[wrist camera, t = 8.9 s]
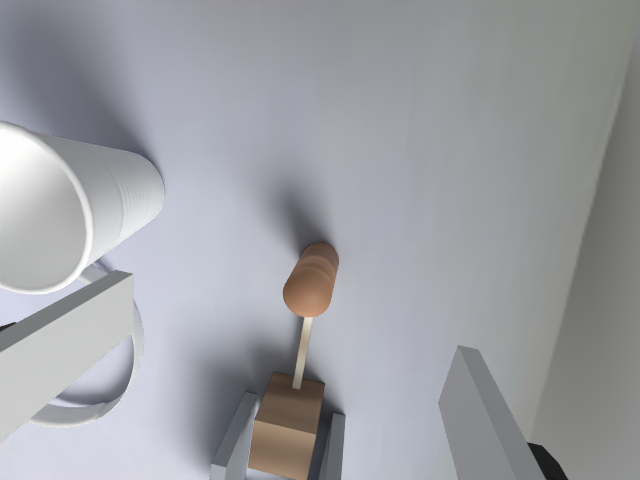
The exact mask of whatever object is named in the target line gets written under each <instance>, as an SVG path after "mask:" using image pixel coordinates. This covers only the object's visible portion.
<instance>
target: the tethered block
mask: <svg viewBox="0 0 640 480" xmlns="http://www.w3.org/2000/svg"><path fill="white" fill-rule="evenodd" d="M338 265H339V257H338V254H337V252H336V251H335V249H334V248H333V247H331V246H330V245H328V244H326V243H322V242H317V243H313V244H311V245H309V246H308V247H306V249H305V250H304V251H303V253H302V255H301V257H300V259H299V260H298V262H297V264H296V266H295V268H294V269H293V271H292V273H291V275H290V277H289V278H288V280H287V282H286V284H285V286H284V289H283V298H284V301H285V304H286V305H287V307H288V308H289V309H290V310H291V311H292V312H293V313H295V314H297V315H299V316H302V317H304V323H303V329H302V334H301V340H300V346H299V352H298V357H297V363H296V369H295V375H294V376H290V375H285V374H281V373H277V372H273V374H272V377H271V379H270V382H269V384H268V387H267V389H266V392H265V394H264V397H263V399H262V402H261V404H260V407H259V409H258V412H257V415H256V417H255V420H254V426H253V433H252V440H251V447H250V455H249V462H248V468H251V469H255V470H259V471H263V472H267V473H271V474H275V475H279V476H283V477H287V478H291V479H295V480H307V477H308V472H309V467H310V463H311V458H312V453H313V448H314V443H315V439H316V434H317V428H318V422H319V416H320V410H321V404H322V398H323V392H324V386H325V383H320V382H316V381H312V380H307V379H303V378H302V377H303V371H304V366H305V360H306V355H307V349H308V344H309V338H310V333H311V327H312V322H313V317H315V316H318V315H320V314H322V313H323V312H324V311H325V310H326V309H327V308H328V306H329V304H330V301H331V297H332V292H333V288H334V283H335V278H336V274H337V269H338Z"/></svg>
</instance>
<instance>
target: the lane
mask: <svg viewBox="0 0 640 480" xmlns="http://www.w3.org/2000/svg"><path fill="white" fill-rule="evenodd" d="M256 399H257V394H253V393H249V392H245V394H244V396H243V398H242V400H241V402H240V404H239V406H238V408H237V410H236V413H235V415H234V417H233V419H232V421H231V423H230V425H229V427H228V429H227V431H226V433H225V436H224V438H223V440H222V442H221V444H220V446H219V448H218V450H217V452H216V454H215V457H214V459H213V461H212V463H211V469H210V479H209V480H245V475H246V468H247V461H248V454H249V448H250V441H251V434H252V427H253V420H254V413H255V406H256ZM344 430H345V415H341V414H337V413H333V416H332V420H331V425H330V429H329V434H328V438H327V442H326V447H325V451H324V456H323V460H322V464H321V469H320V473H319V478H318V480H341V472H342V458H343V444H344Z"/></svg>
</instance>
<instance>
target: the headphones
mask: <svg viewBox="0 0 640 480" xmlns="http://www.w3.org/2000/svg"><path fill="white" fill-rule="evenodd" d="M106 275H108V273H106V272H105V271H103V270H101V269H100V268H98V267H96V266H94V265H92V264H90V265H89V266H87V267H86V268H85V269H83V271H82V272H81V274H80V275H79V276H78V277H77V278H76V279H78V280H79V281H81V282H83V283H85V284H87V285H89V284H91V283H93V282H94V281H96V280H98V279H100V278H102V277H104V276H106ZM131 336H132V340H133V347H134V363H133V369H132V374H131V378H130V381H129V384H128V386H127V388H126V390H125V391H124V392H123V393H122V394H121V395H120V396H119V397H118V398H116V399H115V400H113V401H111V402H109V403H105V402H103V403H99V404H96V405H92V406H87V407H62V406H56V405H51V404H47V405H45V406H44V407H43V408H42V409H41V410H39V411H38V412H37V413H36V414H35V415H33V416H32V417H31V418H30V419H29V420H28V421H26V422H28V423H32V424H36V425H41V426H47V427H58V428H66V427H76V426H81V425H85V424H88V423H91V422H93V421H96V420H98V419H100V418H102V417H103V416H105V415H106V414H108V413H109V412H110V411H111V410H112V409H113V408H115V407H116V406H117V404H118V403H119V402H120V401H121V400H122V398H123V397H124V396H125V394H126V393H127V391H128V390H129V388H130V387H131V385H132V384H133V382H134V380H135V378H136V376H137V373H138V371H139V368H140V364H141V360H142V356H143V350H144V331H143V325H142V321H141V317H140V314H139V311H138V309H137V307H136V305H135V303H134V301H133V333H131Z"/></svg>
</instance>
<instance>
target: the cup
mask: <svg viewBox="0 0 640 480" xmlns="http://www.w3.org/2000/svg"><path fill="white" fill-rule="evenodd" d="M164 198H165V189H164V184H163V181H162V178H161V176H160V174H159V172H158V171H157V169H156V168H155V167H154V166H153V164H152V163H151V162H149V161H148V160H147V159H146V158H144V157H143V156H141V155H139V154H136V153H133V152H129V151H125V150H120V149H114V148H109V147H104V146H99V145H94V144H89V143H85V142H81V141H76V140H71V139H66V138H63V137H58V136H53V135H48V134H43V133H39V132H34V131H29V130H28V129H26V128H24V127H21V126H18V125H15V124H12V123H9V122H6V121H0V287H1V288H4V289H7V290H10V291H13V292H17V293H23V294H46V293H50V292H53V291H57V290H60V289H61V288H63V287H65V286H67V285H69V284H70V283H71V282H73V281H74V280H75V279H76V278H77V277H78V276H79V275H80V274H81V272H82V271H83V269H85V268H86V267H87V266H89V265H90V264H92V263H93V262H94V261H96V260H97V259H99V258H100V257H101V256H103V255H104V254H105V253H107V252H108V251H110V250H111V249H112V248H114V247H115V246H116V245H118V244H119V243H120V242H122V241H123V240H125V239H126V238H127V237H129V236H130V235H132V234H133V233H134V232H136V231H137V230H139V229H140V228H141V227H143V226H144V225H146V224H147V223H148V222H150V221H151V220H153V219H154V218H155V217H156V216H157V215H158V214H159V212H160V211H161V209H162V206H163V204H164Z"/></svg>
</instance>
